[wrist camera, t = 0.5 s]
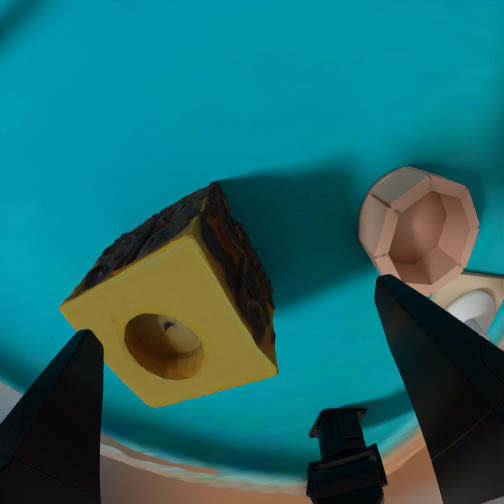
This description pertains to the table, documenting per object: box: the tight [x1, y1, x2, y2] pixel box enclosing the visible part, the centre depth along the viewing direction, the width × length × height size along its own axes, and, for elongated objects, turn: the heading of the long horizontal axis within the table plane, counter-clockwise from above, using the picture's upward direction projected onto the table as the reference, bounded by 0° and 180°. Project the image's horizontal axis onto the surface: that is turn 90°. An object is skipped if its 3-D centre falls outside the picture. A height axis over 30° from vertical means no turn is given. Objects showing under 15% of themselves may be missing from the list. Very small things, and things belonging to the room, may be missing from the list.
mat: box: [430, 271, 504, 323], centre depth 27 cm, size 12×12×1 cm
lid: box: [445, 289, 495, 342], centre depth 25 cm, size 9×9×4 cm
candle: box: [59, 182, 279, 408], centre depth 20 cm, size 10×10×10 cm
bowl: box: [358, 166, 479, 296], centre depth 20 cm, size 9×9×4 cm
